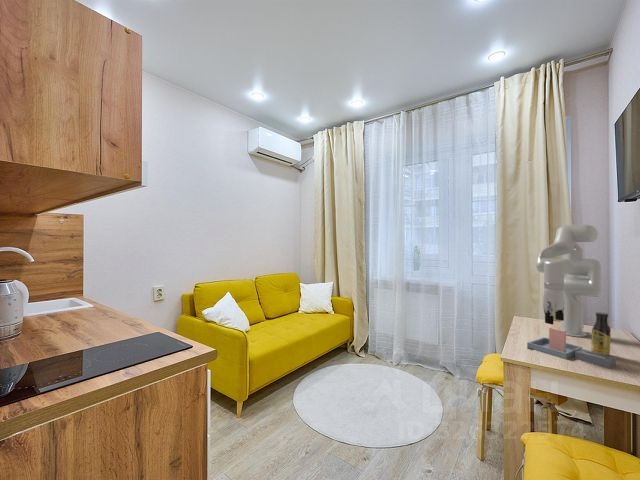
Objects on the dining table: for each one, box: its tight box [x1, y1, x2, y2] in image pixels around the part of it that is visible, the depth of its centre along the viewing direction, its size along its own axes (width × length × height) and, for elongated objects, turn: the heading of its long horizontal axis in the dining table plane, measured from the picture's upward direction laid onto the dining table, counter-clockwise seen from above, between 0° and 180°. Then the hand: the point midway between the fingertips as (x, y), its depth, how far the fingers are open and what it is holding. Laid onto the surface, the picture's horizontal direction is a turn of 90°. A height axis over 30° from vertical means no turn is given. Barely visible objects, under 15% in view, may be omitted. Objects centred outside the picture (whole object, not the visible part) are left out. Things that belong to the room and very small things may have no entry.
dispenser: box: [574, 348, 617, 369], centre depth 126 cm, size 7×11×4 cm, turn 28°
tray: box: [526, 336, 583, 360], centre depth 139 cm, size 16×16×3 cm
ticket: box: [548, 327, 567, 353], centre depth 138 cm, size 2×6×10 cm, turn 30°
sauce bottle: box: [590, 311, 612, 356], centre depth 134 cm, size 6×6×20 cm
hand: (554, 321), depth 140 cm, fingers open, 9 cm apart
